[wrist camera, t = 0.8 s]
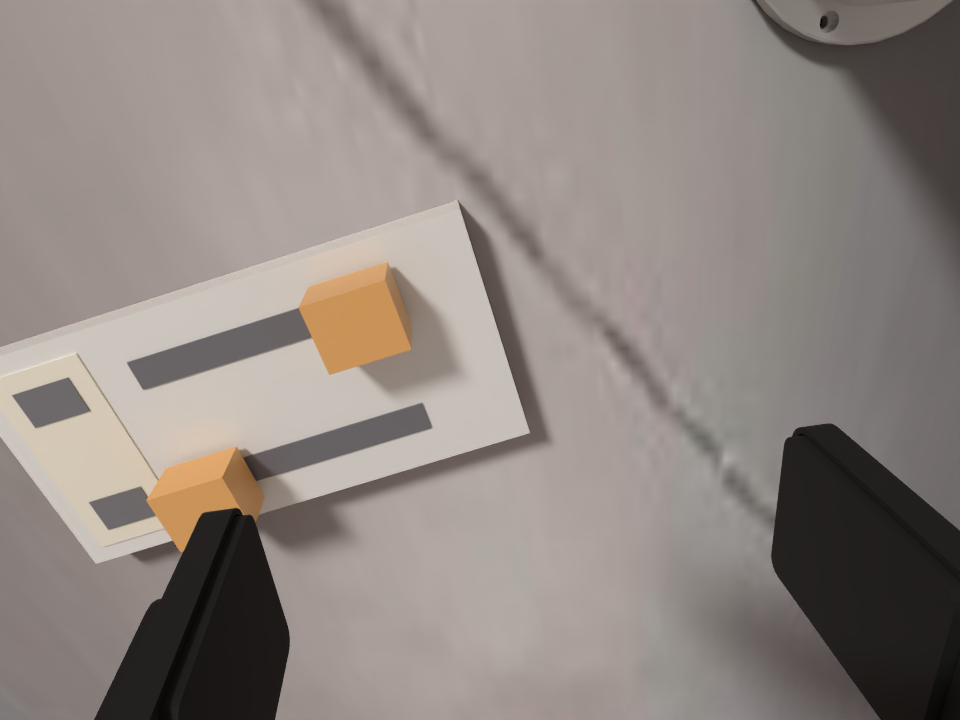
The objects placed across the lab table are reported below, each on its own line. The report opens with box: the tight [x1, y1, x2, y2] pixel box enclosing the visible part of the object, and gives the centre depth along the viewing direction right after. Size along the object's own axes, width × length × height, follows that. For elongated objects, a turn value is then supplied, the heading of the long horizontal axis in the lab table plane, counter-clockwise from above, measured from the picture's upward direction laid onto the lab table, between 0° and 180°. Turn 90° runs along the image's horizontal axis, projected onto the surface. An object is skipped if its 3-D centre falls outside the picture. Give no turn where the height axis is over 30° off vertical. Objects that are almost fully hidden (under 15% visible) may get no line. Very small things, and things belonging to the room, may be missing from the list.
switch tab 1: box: [146, 446, 265, 552], centre depth 34 cm, size 4×4×3 cm
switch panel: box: [0, 200, 530, 564], centre depth 34 cm, size 26×13×2 cm, turn 107°
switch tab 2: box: [298, 262, 412, 375], centre depth 30 cm, size 4×4×3 cm
